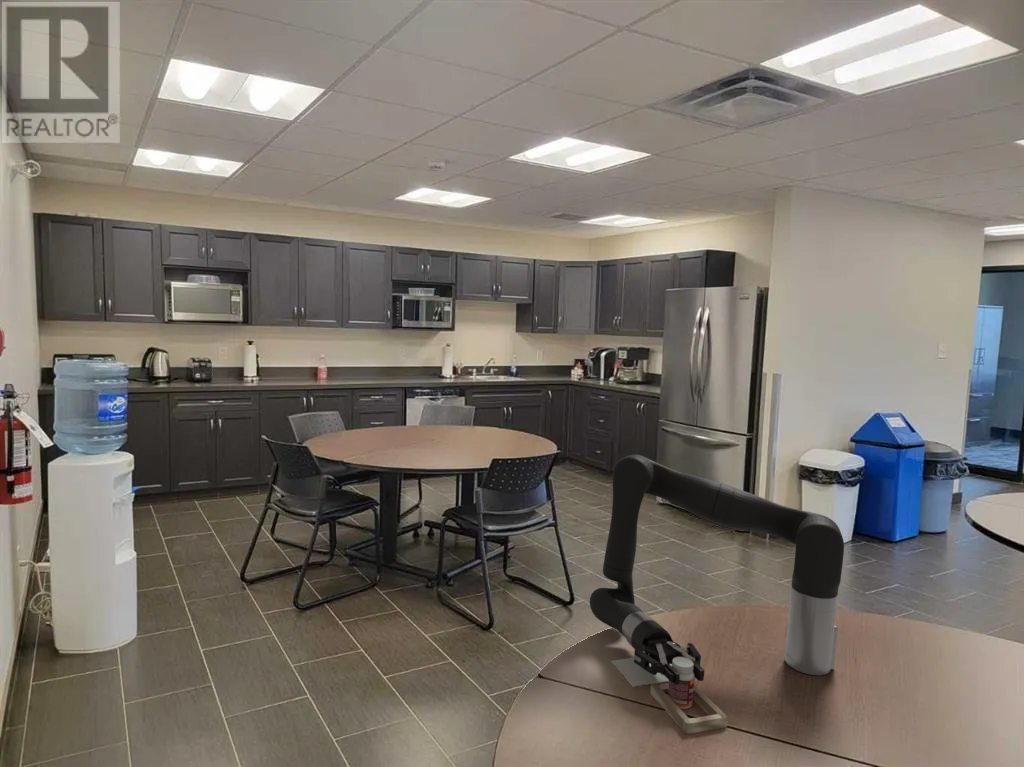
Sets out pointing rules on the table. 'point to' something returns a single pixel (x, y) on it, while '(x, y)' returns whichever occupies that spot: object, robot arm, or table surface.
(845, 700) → the table surface
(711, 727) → the wooden rectangular frame
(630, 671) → the mat
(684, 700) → the pill bottle
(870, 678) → the table surface
